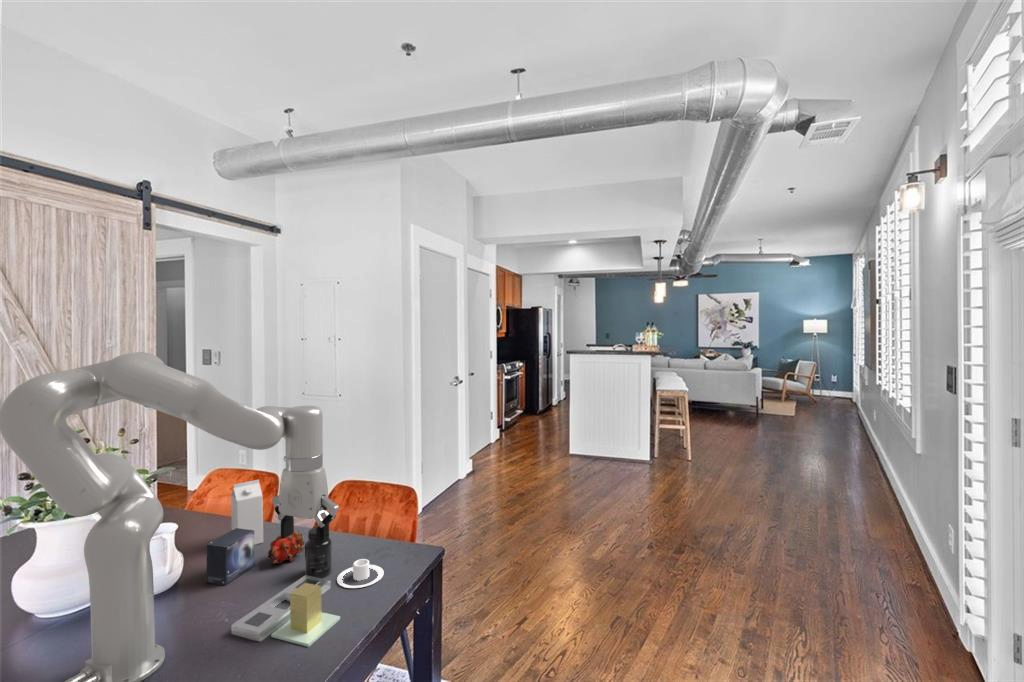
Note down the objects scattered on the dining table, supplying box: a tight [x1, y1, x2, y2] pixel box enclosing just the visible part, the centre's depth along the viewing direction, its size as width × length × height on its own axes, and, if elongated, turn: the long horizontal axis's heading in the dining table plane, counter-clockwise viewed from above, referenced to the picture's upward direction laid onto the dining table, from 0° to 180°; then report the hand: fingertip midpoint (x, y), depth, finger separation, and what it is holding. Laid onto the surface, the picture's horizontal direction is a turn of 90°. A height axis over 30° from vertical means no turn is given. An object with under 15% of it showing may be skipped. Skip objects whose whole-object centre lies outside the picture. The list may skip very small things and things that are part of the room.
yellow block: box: [289, 583, 323, 633], centre depth 106 cm, size 4×4×8 cm
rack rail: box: [230, 574, 331, 642], centre depth 113 cm, size 22×8×2 cm, turn 161°
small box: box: [206, 528, 255, 586], centre depth 128 cm, size 11×6×10 cm, turn 169°
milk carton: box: [230, 479, 264, 546], centre depth 147 cm, size 7×7×19 cm
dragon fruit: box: [267, 530, 305, 565], centre depth 136 cm, size 8×8×12 cm
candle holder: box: [336, 558, 385, 589], centre depth 127 cm, size 12×12×4 cm
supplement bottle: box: [304, 526, 333, 579], centre depth 129 cm, size 7×7×12 cm
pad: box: [270, 611, 341, 648], centre depth 106 cm, size 10×10×1 cm
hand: (304, 539), depth 105 cm, fingers open, 9 cm apart
